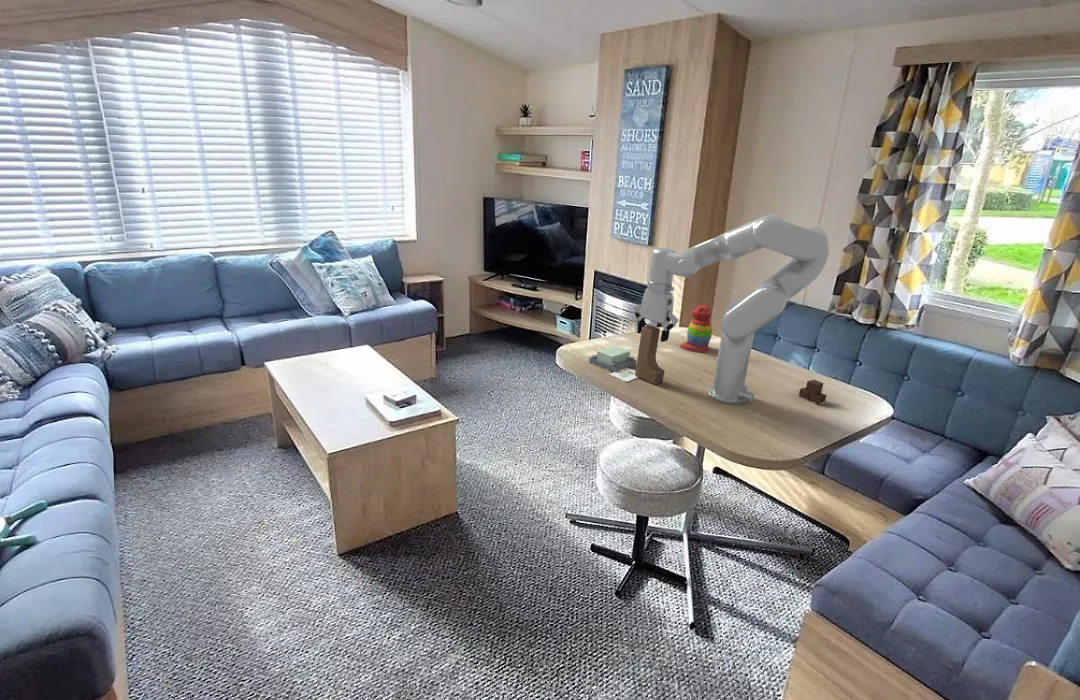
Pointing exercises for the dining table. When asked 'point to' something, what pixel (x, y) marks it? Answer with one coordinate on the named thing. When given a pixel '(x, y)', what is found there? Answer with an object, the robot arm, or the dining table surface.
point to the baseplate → (614, 365)
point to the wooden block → (649, 356)
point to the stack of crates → (813, 392)
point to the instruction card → (625, 375)
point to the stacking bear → (699, 330)
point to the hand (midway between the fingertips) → (652, 336)
